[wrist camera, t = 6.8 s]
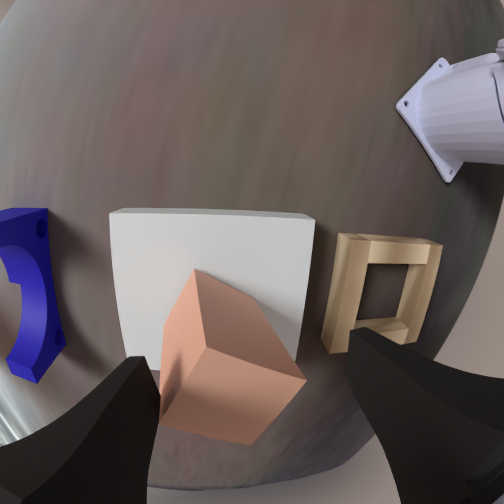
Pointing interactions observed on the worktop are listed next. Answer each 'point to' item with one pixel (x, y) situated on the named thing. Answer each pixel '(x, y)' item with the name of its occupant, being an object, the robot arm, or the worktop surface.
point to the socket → (352, 280)
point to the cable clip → (31, 291)
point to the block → (222, 364)
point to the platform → (207, 266)
